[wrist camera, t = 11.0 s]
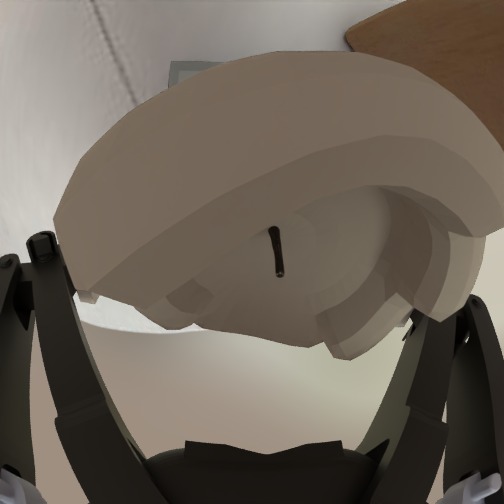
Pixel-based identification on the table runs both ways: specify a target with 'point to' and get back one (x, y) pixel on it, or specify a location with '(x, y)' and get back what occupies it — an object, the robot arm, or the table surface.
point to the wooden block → (445, 49)
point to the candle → (288, 201)
